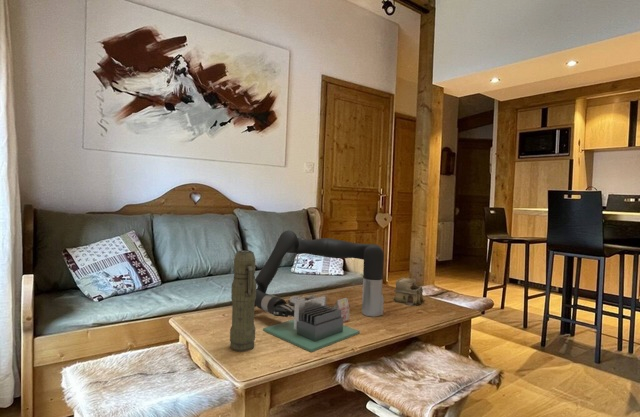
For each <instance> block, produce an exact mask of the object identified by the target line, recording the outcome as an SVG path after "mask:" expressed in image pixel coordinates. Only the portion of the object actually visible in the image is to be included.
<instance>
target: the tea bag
mask: <svg viewBox="0 0 640 417" xmlns="http://www.w3.org/2000/svg"><path fill="white" fill-rule="evenodd" d="M333 307H334V309H335V308H338V310H340V309H341V317H343V323H346V322H348V321H350V304H349V302H348V298H347V297H344V298H341V299H337V300H336V301H335V304H334V306H333Z"/></svg>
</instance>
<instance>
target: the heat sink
mask: <svg viewBox="0 0 640 417" xmlns="http://www.w3.org/2000/svg"><path fill="white" fill-rule="evenodd" d="M289 298H290V299H289V300H290V302H292V303H295V304H296V306H295V320H296V321H297V330H296V329H294V318H293V319H290V320H288V321H283V322H279V323H275V324H273V325H269V326H266V327H263V328H262V331H263V332H266V333H268V334H270V335H272V336H274V337H276V338H279V339H281V340H282V341H285V342H287V343H289V344H291V345H294V346H296V347H299V348H301V349H303V350H305V351H307V352H310V353H313V352H315V351H319V350H320V349H323V348H326V347H329V346H331V345H333V344H336V343H338V342H341V341H344V340H346V339H349V338H351V337H355V336H357V335H358V334H360V332H361V331H360V330H359V329H358V330H357V329H355V328H352V327H350V326H347V325H344V322H343V317H341V309H340V310H338V308H335V309H334V306H332V307H331V306H330V305H327V304H326V305H323V306H320V307H316V308H313V309H309V310H305V311H304V309H305V298H306V297H302V296H299V295H292V296H290V297H289Z"/></svg>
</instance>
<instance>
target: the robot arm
mask: <svg viewBox="0 0 640 417" xmlns="http://www.w3.org/2000/svg"><path fill="white" fill-rule="evenodd" d="M287 253H288V254H302V255H303V254H305V255H306V254H307V255H311V256H316V257H317V256H318V257H323V258H329V259H330V258H331V259H357V260H362V261H363V270H362V272H363V275H362V277H363V278H362V297H361V298H362V301H361V314H362V315H363V316H367V317H373V318H374V317H375V318H376V317H381V316H383V315H384V299H385V298H384V295H383V279H384V278H383V277H384V262H385V258H384V257H385V256H384V254H385V253H384V250H383V247H381V246H380V245H379V244H375V243H355V242H351V241H345V240H341V239H335V238H327V237H324V238H317V239H316V238H315V239H305V238H300V237H299V238H298V236H297V234H296V233H295V232H294V231H293V230H289V229H288V230H285V231H283V232H282V233H281V234H280V236H279V237H278V239H277V241H276V244H275V246H274V248H273V250H272V252H271V253H270V256H269V258H268V259H267V260H266V262H265V263H264V265H263V267H262V268H261V270H259V272H258V274H257V276H256V277H255V281H256V300H255V306H254V308H256V307H257V308H259V309H261V310H263V311H265V312H266V313H269V314H271V315H273V316H274V317H282V318H283V317H284V318H289V317H293V318H294V309H295V305H291V304H290V303H288V302H286V300H285V299H283V298H281V297H279V296H276V295H273V294H270V293H269V294H268V293H266V292H267V291H268V287H269V286H270V283H271V282H272V281H273V279H274V278H275V276H276V274H277V272H278V270H279V268H280V264H281V262H282V260H283V258H284V257H285V256H286V254H287Z"/></svg>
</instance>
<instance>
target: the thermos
mask: <svg viewBox="0 0 640 417" xmlns="http://www.w3.org/2000/svg"><path fill="white" fill-rule="evenodd" d="M233 273H234V275H233V279H232V283H231V295H230V296H231V297H230V298H231V301H232V302H231V303H232V304H231V306H232V307H231V308H232V310H231V314H232V315H231V316H232V317H231V327H230V331H229V341H230V345H229V347H230V350H232V351H234V352H240V353H241V352H242V353H243V352H248V351H251V350H253V349H254V348H255V341H256V326H255V307H254V306H255V300H256V289H257V284H256V281H255V279H256V277H255V274H256V256H255V253H254V251H252V250H249V249H247V250H246V249H245V250H243V249H242V250H241V249H240V250H238V251H237V252H236V253H235V255H234V259H233Z"/></svg>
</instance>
